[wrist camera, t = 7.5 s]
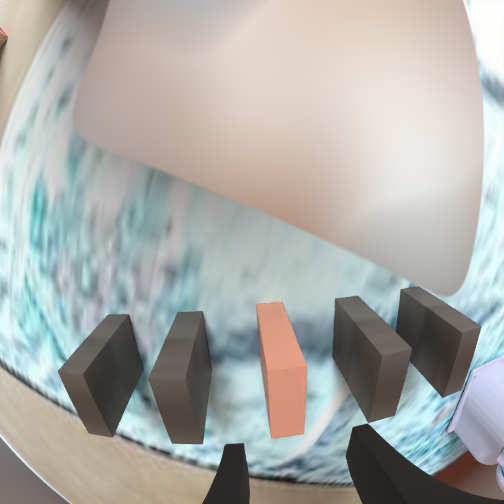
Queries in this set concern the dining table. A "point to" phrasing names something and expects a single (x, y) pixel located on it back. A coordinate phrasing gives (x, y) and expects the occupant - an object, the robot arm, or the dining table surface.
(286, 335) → the tile
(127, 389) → the tile
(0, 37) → the stack of blocks
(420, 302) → the tile
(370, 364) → the tile
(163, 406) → the tile
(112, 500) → the dining table surface
